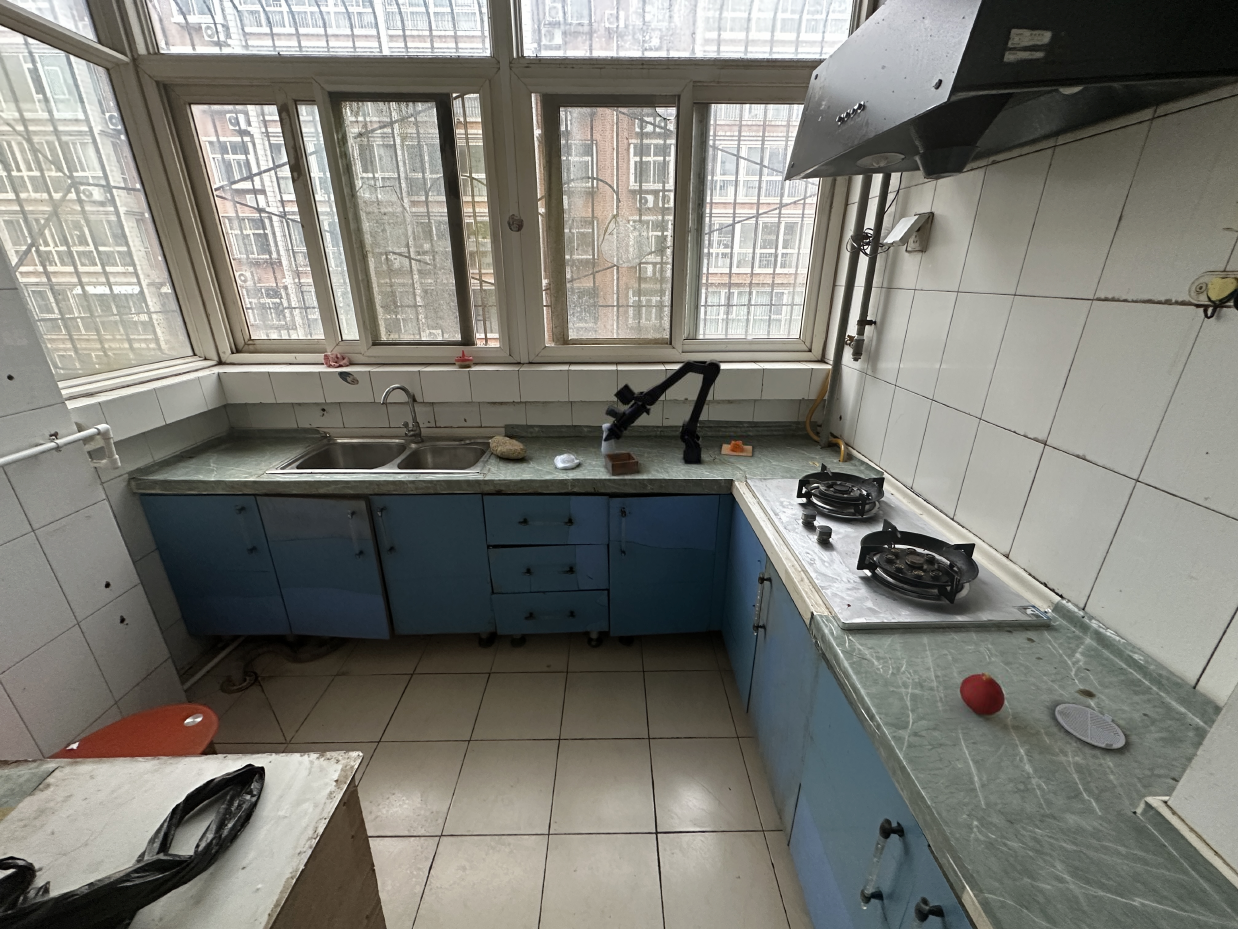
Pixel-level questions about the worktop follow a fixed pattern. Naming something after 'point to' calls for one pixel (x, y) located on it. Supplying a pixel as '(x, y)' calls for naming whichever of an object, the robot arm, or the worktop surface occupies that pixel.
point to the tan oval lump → (507, 448)
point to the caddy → (621, 463)
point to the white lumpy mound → (566, 461)
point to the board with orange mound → (737, 449)
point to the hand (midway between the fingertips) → (604, 439)
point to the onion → (982, 694)
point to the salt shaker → (609, 445)
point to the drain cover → (1090, 726)
